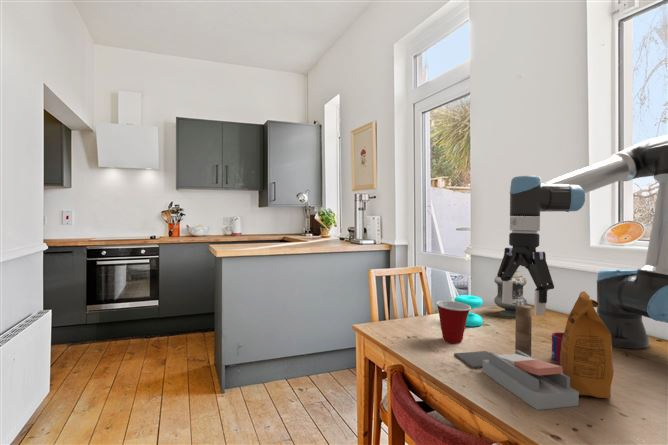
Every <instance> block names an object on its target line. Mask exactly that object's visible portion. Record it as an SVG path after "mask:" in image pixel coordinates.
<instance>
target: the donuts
mask: <svg viewBox="0 0 668 445" xmlns="http://www.w3.org/2000/svg"><path fill="white" fill-rule="evenodd" d="M453 301H454V302H460V303H463V304H467V305H469V306H470V307H471V309H478V308H480V307H482V306H483V303H484V301H483V299H482V298H481V297H479V296H477V295H472V294H471V295H470V294H461V295H457V296H455V297H454V300H453ZM483 322H484V321H483V318H482V317H481V316H480V315H479V314H476V313H473V312H469V313H468V316H467V320H466V325H465V327H470V328H473V327H474V328H475V327H479V326H482V325H483Z"/></svg>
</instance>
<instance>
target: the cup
mask: <svg viewBox="0 0 668 445" xmlns="http://www.w3.org/2000/svg"><path fill="white" fill-rule="evenodd" d="M563 334H564V332H560V331H559V332H558V331H557V332H552V333H551V359H552V360H553V361H555V362H557V363H559V364H560V354H561V342H562V338H563Z"/></svg>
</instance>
